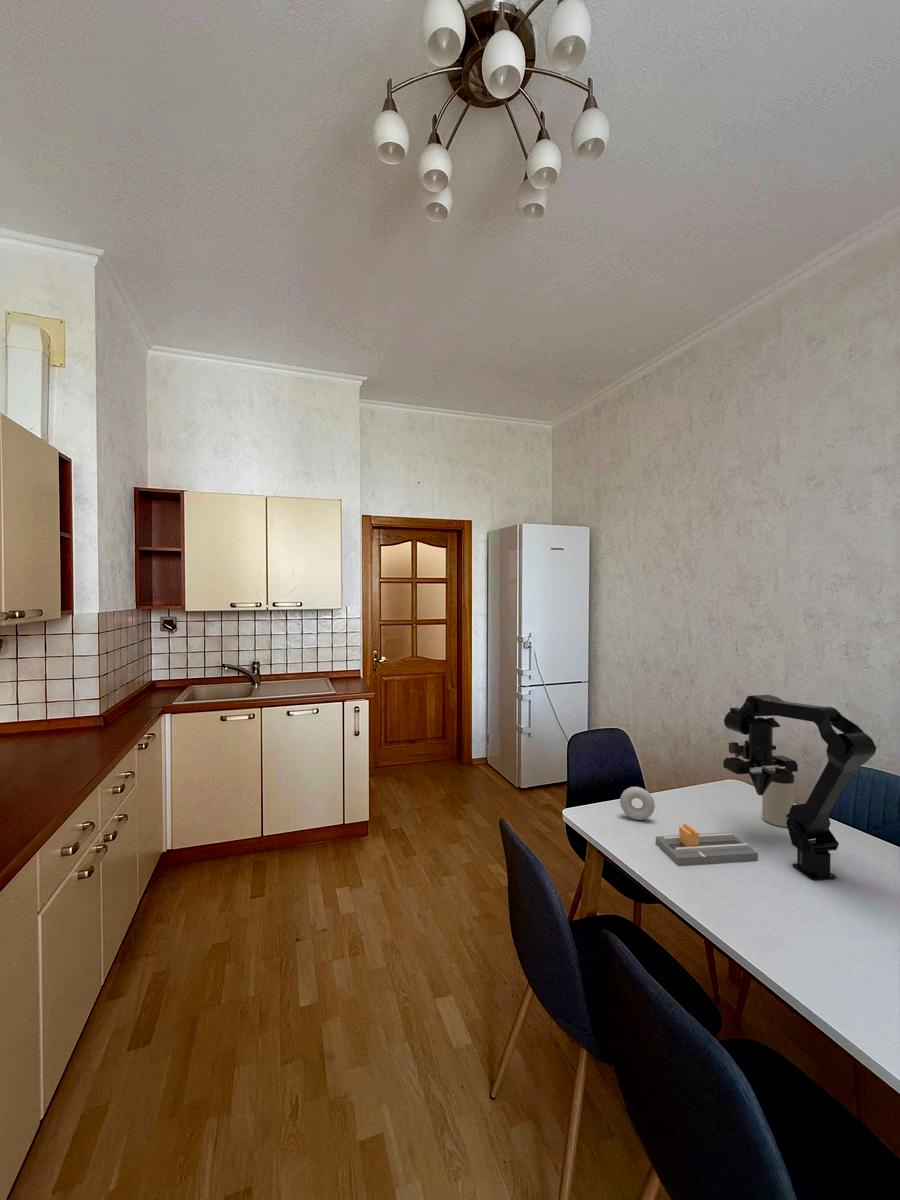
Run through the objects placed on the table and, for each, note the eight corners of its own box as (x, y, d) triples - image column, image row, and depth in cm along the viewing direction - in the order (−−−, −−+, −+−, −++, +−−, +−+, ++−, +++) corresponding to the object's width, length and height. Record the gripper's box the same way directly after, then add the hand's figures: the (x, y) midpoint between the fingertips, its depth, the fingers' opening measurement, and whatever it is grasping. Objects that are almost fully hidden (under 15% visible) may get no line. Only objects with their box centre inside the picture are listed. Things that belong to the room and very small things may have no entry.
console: (758, 861, 128) (758, 849, 128) (678, 866, 126) (679, 854, 125) (728, 838, 139) (728, 828, 139) (655, 843, 137) (655, 832, 137)
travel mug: (798, 828, 145) (799, 768, 145) (768, 826, 147) (769, 766, 147) (786, 816, 153) (786, 759, 153) (757, 814, 155) (758, 757, 154)
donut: (654, 819, 151) (654, 787, 151) (654, 824, 148) (655, 791, 148) (620, 814, 155) (620, 782, 155) (619, 819, 152) (619, 786, 151)
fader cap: (698, 847, 130) (698, 830, 130) (687, 848, 130) (688, 831, 130) (689, 840, 134) (689, 823, 134) (679, 840, 134) (679, 824, 134)
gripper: (769, 730, 147) (768, 782, 147) (711, 732, 145) (710, 785, 145) (799, 741, 136) (799, 797, 136) (737, 744, 134) (736, 801, 134)
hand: (759, 794), depth 138 cm, fingers closed
